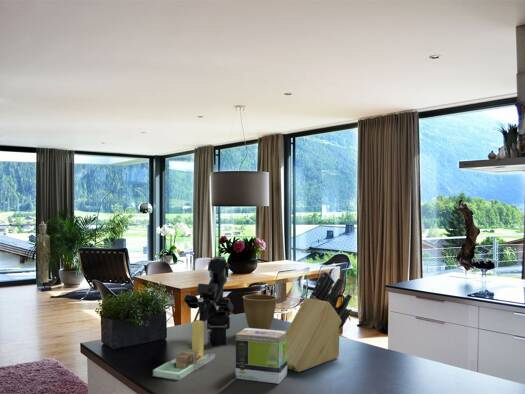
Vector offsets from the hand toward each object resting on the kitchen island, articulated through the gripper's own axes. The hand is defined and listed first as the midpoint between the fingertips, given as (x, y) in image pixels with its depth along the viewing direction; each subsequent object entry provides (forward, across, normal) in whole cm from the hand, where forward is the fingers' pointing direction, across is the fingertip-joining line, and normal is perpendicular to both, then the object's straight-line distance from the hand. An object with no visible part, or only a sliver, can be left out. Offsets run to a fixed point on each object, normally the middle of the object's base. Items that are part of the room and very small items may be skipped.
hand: (200, 323), depth 182 cm
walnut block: (+17, +1, -1) cm, 17 cm away
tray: (+23, +1, -5) cm, 23 cm away
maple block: (+14, +1, +3) cm, 14 cm away
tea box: (+15, +27, +4) cm, 31 cm away
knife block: (-2, +38, +22) cm, 44 cm away
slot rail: (+14, +1, +4) cm, 15 cm away
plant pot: (-20, +5, +40) cm, 45 cm away
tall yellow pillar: (+11, +1, +6) cm, 12 cm away
